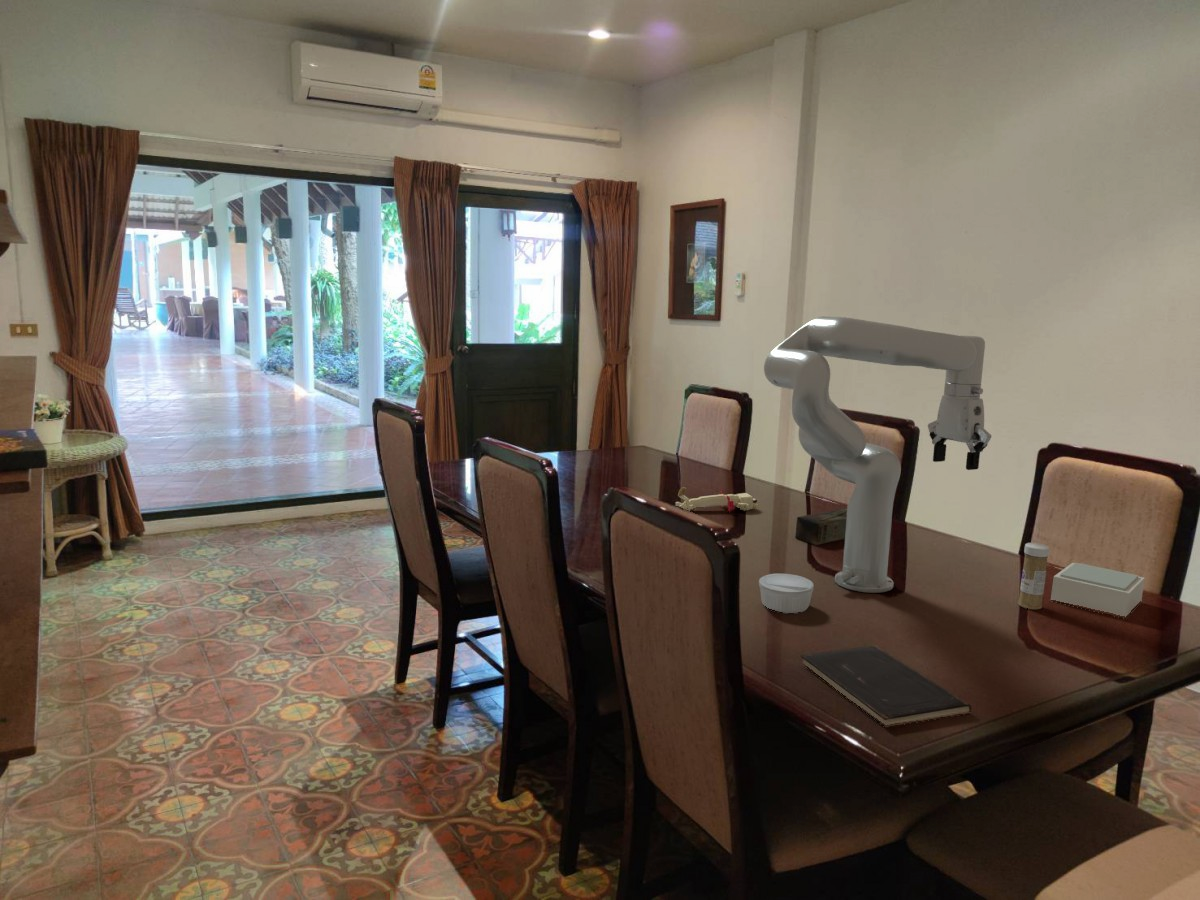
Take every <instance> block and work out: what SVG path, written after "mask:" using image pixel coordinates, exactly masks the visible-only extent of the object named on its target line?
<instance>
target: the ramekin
mask: <svg viewBox="0 0 1200 900" xmlns="http://www.w3.org/2000/svg"><path fill="white" fill-rule="evenodd" d="M814 585H815V584H814V583H813V581H811V579H808V578H807V577H804V576H800V575H797V574H791V573H777V572H776V573H769V574H766V575H763V576H761V577H760V578H759V579H758V586H759V590H760V599H761V600H760V601H761V603H762V605H763V607H765V606H766V607H767V608H766V607H765V608H766V609H768V608H769V609H772V610H775V611H779V612H783V613H782V614H788V613H794V614H799V613H798V612H801V613H803V612H805V611H806V610H807V609H808V608H809V607H810V605H811V604H810V603H811V598H812V595H813V591H814V589H815V586H814ZM769 609H768V610H769ZM772 610H771V611H772ZM775 611H774V612H775ZM779 612H778V613H779Z"/></svg>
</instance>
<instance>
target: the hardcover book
mask: <svg viewBox="0 0 1200 900" xmlns="http://www.w3.org/2000/svg"><path fill="white" fill-rule="evenodd" d="M800 658H801V659H802V664H803V663H804V664H805V665H806V666H808V667H809V668H810V669H812V670H813V671H814V672H815V673H816V674H818V675H819V676H820V677H822V678H823V679H824V680H826V681H827V682H828V683H829V684H830V685H832V686H833V687H834V688H835V689H836V690H835V689H834V688H833V687H832V688H833V689H834V690H835V691H837V690H838V691H839V692H840V693H839V692H838V691H837V692H838V693H839V694H841V693H842V694H843V695H845V696H846V697H847V698H848V699H850V700H851V701H853V702H854V703H856V704H857V705H858V706H860V707H861V708H863V709H864V710H866V711H867V712H868V713H870V714H871V715H872V716H874V717H875V718H877V719H878V720H879V721H881V722H882V723H884V724H885V725H890V724H895V723H903V722H909V721H916V720H923V719H927V718H934V717H939V716H946V715H952V714H958V713H963V712H971V711H972V705H971V704H970V703H968V702H967V701H966V700H963V699H962V698H960V697H959V696H957V695H956V694H954V693H952V691H951V692H950V691H949V690H947V689H946V688H944V687H943V686H941V685H940V684H938V683H936V682H935V681H933V680H932V679H930V678H928V677H927V676H925V675H924V674H923V673H921V672H919V671H917V670H915V669H914V668H912V667H911V666H910V665H908V664H906V663H905V662H903V661H902V660H900V659H898V658H897V657H895V656H893V655H892V654H890V653H889V652H887V651H886V650H884V649H882V648H881V647H879V646H878V645H876V644H874V645H867V646H859V647H853V648H844V649H838V650H837V649H836V650H830V651H822V652H816V653H815V652H813V653H807V654H801V655H800ZM816 674H815V675H816ZM820 677H819V678H820ZM824 680H823V681H824ZM829 684H828V685H829ZM830 685H829V686H830ZM842 694H841V695H842ZM843 695H842V696H843ZM846 697H845V698H846ZM847 698H846V699H847ZM848 699H847V700H848ZM850 700H849V701H850ZM851 701H850V702H851ZM854 703H853V704H854ZM858 706H857V707H858Z"/></svg>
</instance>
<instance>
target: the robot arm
mask: <svg viewBox="0 0 1200 900" xmlns="http://www.w3.org/2000/svg"><path fill="white" fill-rule="evenodd" d="M985 349H986V341H985V339H984V338H983V337H981V336H978V335H959V334H957V335H956V334H951V333H944V332H937V331H930V330H924V329H923V330H922V329H918V328H912V327H908V326H903V325H896V324H892V323H891V324H890V323H885V322H883V323H882V322H877V321H873V320H872V321H871V320H865V319H858V318H853V317H842V316H818V317H815V318H814V319H811V320H810V321H808V322H807V323H805V324H804V325H802V326H801V327H800V328H798V329H797V330H796V331H795V332H793V333H792V334H791V335H789V336H788V337H786V339H784V340H782V341H781V343H779V344H778V345H777V346H776V347H774V348H773V349H772V350H771V351H770V352H769V354H768V355H767V356H766V358H765V361H764V364H763V373H764V376H765V378H766V379H767V380H768V382H770V384H772V385H774V386H775V387H780V388H783V389H787V390H793V392H792V399H791V414H792V417H793V420H794V422H795V425H797V426H798V427H799V428H798V433H797V434H798V441H799V443H800V445H801V447H802V449H803V450H804V451H805V452H806V453H807V454H808V455H809V456H810V457H811V458H812V459H814V460H815V462H817V463H819V465H820V466H822V467H823V468H824V469H825V470H827V471H828V472H829V473H830V474H831V475H833V476H834V477H836V478H838V479H840V480H843V481H845V482H848V483H852V484H853V485H854V484H855V487H854V490H853V492H852V493H851V495H850V497H849V500H848V502H847V508H846V509H847V519H846V532H845V539H844V546H843V559H842V560H843V561H842V571H838V572H837V573H835V576H834V582H835V583H836V584H837V585H838V586H840V587H842V588H845V589H847V590H850V591H855V592H856V591H857V592H862V593H868V594H869V593H871V594H872V593H873V594H875V593H876V594H877V593H885V592H889V591H891V590H892V589H893V588H894V584H895V583H894V581H893V580H892V578H890V577H889V576H888V566H889V557H890V556H889V554H890V542H891V533H892V532H891V531H892V530H891V529H892V517H893V508H894V501H895V494H896V490H897V487H898V485H899V480H900V477H901V473H902V472H901V471H902V466H901V462H900V459H899V457H898V456H897V454H896V453H894V452H893V451H892V450H890V449H888V448H886V447H884V446H880V445H878V444H877V445H876V444H873V443H870V442H867V438H866V435H865V433H864V431H863V430H862V429H861V428H860V426H859V425H858V424H857V423H856V422H855V421H853V420H852V419H851V418H850V417H849V416H848V415H847V414H846V413H844V412H843V410H841V409H840V408H839V407H838V406H837V405H836V404H835V403H834V401H832V399H831V397H830V392H829V390H830V389H829V388H830V381H831V367H830V364H829V362H828V360H827V359H826V357H831V358H838V359H845V360H852V361H860V362H868V363H875V364H881V365H882V364H883V365H890V366H900V367H905V366H906V367H921V368H925V369H933V370H941V371H942V370H944V371H945V378H944V391H943V395H942V396H941V399H940V403H939V406H938V411H937V418H936V420H934V421H932V422H930V423H928V424H927V428H928V433H929V437H930V439H931V440H932V441H931V443H932V445H933V456H932V462H935V463H937V462H945V461H946V455H947V454H946V453H947V444H945V443H946V441H948V440H949V441H954V442H958V443H964V444H965V445H966V446H967V448H968V451H967V454H966V461H965V469H966V470H967V471H973V470H974V471H975V470H979V466H980V465H979V464H980V455H981V453H983V450H984V449H985V448H986V447H987V446H988V445H989V442H990V441H991V438H992V434H991V433H990V432H988V431H987V430H986V428H985V406H984V405H985V404H984V400H983V398H981V395H982V394H983V392H984V389H983V388H982V379H983V369H984V360H985V359H984V357H985Z"/></svg>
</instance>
